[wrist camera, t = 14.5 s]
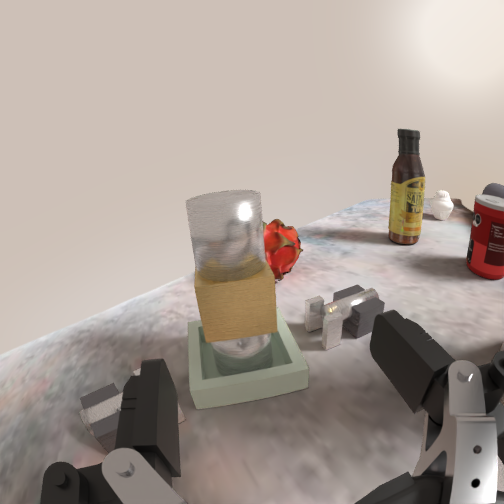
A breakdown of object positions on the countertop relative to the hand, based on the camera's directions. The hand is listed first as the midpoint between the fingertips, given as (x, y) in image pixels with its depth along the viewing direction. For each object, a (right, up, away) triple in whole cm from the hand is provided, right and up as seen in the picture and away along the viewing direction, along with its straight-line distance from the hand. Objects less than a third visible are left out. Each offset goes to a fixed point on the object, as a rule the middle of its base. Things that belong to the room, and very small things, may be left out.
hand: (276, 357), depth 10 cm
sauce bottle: (+27, +6, +38) cm, 47 cm away
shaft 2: (+9, -4, +18) cm, 20 cm away
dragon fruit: (+2, +1, +31) cm, 31 cm away
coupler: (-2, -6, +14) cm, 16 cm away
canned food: (+36, +1, +24) cm, 43 cm away
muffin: (+44, +12, +48) cm, 66 cm away
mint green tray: (-2, -6, +15) cm, 16 cm away
